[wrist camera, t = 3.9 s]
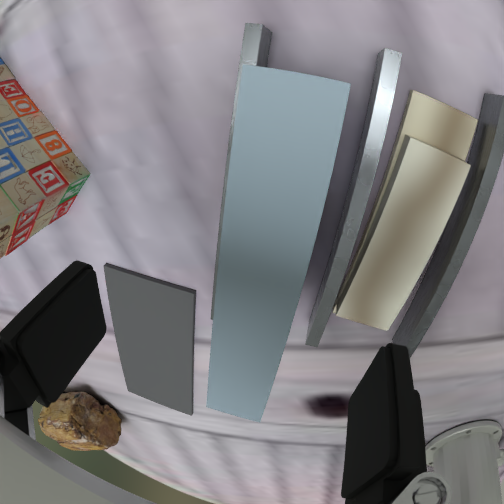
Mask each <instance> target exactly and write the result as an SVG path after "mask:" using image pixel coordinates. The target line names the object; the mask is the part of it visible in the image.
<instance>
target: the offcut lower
mask: <svg viewBox="0 0 504 504" xmlns="http://www.w3.org/2000/svg"><path fill="white" fill-rule="evenodd" d="M477 122H478V120H477V119H475V118H473V117H471V116H469V115H467V114H465V113H463V112H461V111H459V110H457V109H455V108H453V107H451V106H449V105H447V104H444V103H442V102H440V101H438V100H435V99H433V98H431V97H429V96H426V95H424V94H421V93H419V92H416V91H414V90H410V93H409V96H408V100H407V104H406V107H405V111H404V114H403V118H402V121H401V125H400V128H399V131H398V135H397V138H396V141H395V144H394V147H393V151H392V154H391V157H390V160H389V163H388V166H387V169H386V172H385V175H384V178H383V181H382V184H381V187H380V189H379V192H378V195H377V198H376V201H375V203H374V206H373V209H372V212H371V214H370V217H369V220H368V222H367V225H366V228H365V230H364V233H363V235H362V238H361V240H360V243H359V245H358V248H357V250H356V253H355V255H354V258H353V260H352V263H351V265H350V268H349V270H348V272H347V275H346V277H345V279H344V282H343V284H342V286H341V289H340V291H339V293H338V296H337V298H336V300H335V302H334V305H333V313H336V305H337V301H338V299H339V297H340V295H341V293H342V291H343V289H344V286H345V284H346V282H347V280H348V278H349V276H350V273H351V271H352V269H353V267H354V265H355V262H356V260H357V258H358V255H359V253H360V251H361V249H362V246H363V244H364V242H365V239H366V237H367V234H368V232H369V230H370V227H371V225H372V222H373V220H374V217H375V215H376V213H377V210H378V208H379V205H380V202H381V200H382V197H383V195H384V192H385V189H386V187H387V184H388V182H389V179H390V176H391V173H392V171H393V168H394V165H395V162H396V160H397V157H398V154H399V151H400V148H401V145H402V142H403V139H404V136H405V134H406V135H409V136H411V137H414V138H416V139H418V140H421V141H423V142H425V143H428V144H430V145H432V146H434V147H437V148H439V149H441V150H443V151H445V152H447V153H449V154H452V155H454V156H456V157H458V158H460V159H462V160H463V161H465V159H466V157H467V154H468V151H469V148H470V145H471V142H472V138H473V135H474V132H475V129H476V125H477Z"/></svg>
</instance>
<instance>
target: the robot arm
mask: <svg viewBox="0 0 504 504" xmlns="http://www.w3.org/2000/svg"><path fill="white" fill-rule="evenodd" d="M105 333H106V323H105V318H104V314H103V309H102V304H101V299H100V294H99V288H98V283H97V277H96V272H95V271H94V270H93V267H92V266H91V265H89V264H87V263H84V262H81V261H74V262H73V263H72V264H71V265H69V266H68V267H67V268H66V269H65V270H64V271H63V272H62V273H60V274H59V275H58V276H57V277H56V278H55V279H54V280H53V281H52V282H51V283H50V284H49V285H47V286H46V287H45V288H44V289H43V290H42V291H41V292H40V293H39V294H38V295H37V296H36V297H35V298H34V299H33V300H32V301H31V302H30V303H29V304H28V305H27V306H26V307H24V308H23V309H22V310H21V311H20V312H19V313H18V314H17V315H16V316H15V317H14V318H13V320H12V321H11V322H10V323H9V324H8V325H7V326H6V327H5V328H4V329H3V330H2V331H1V332H0V504H156V503H154V502H151V501H149V500H146V499H143V498H141V497H139V496H137V495H134V494H132V493H129V492H127V491H125V490H123V489H120V488H118V487H116V486H114V485H112V484H110V483H108V482H106V481H104V480H102V479H100V478H98V477H96V476H94V475H92V474H90V473H88V472H87V471H85V470H83V469H81V468H79V467H78V466H76V465H74V464H72V463H71V462H69V461H67V460H65V459H64V458H62V457H60V456H59V455H57V454H56V453H54V452H52V451H51V450H49V449H48V448H46V447H44V446H43V445H41V444H40V443H38V442H37V441H36V439H35V432H34V421H33V410H32V404H33V403H34V401H35V400H36V401H37V402H38V403H40V404H42V405H43V406H45V407H46V408H48V407H49V406H50V404H51V403H54V402H56V401H57V400H58V398H59V397H60V395H61V394H62V393H63V391H64V390H65V388H66V387H67V386H68V384H69V383H70V381H71V380H72V379H73V377H74V376H75V374H76V373H77V372H78V370H79V369H80V368H81V366H82V365H83V364H84V362H85V361H86V359H87V358H88V357H89V355H90V354H91V353H92V351H93V350H94V349H95V347H96V346H97V345H98V344H99V342H100V341H101V340H102V338H103V337H104V335H105ZM501 437H502V429H501V426H500V424H499V423H497V422H494V421H476V422H472V423H468V424H464V425H461V426H458V427H456V428H453V429H451V430H449V431H446V432H444V433H443V434H441V435H439V436H437V437H436V438H434V439H433V440H432V441H431V442H429V443H428V444H427V445H426V447H425V438H424V427H423V417H422V408H421V400H420V395H419V393H418V391H417V390H414V386H413V379H412V372H411V365H410V358H409V352H408V348H407V347H406V346H403V345H398V344H393V343H389V344H387V346H386V347H381V348H380V349H379V351H378V353H377V355H376V356H375V358H374V360H373V361H372V363H371V365H370V367H369V368H368V370H367V371H366V373H365V375H364V376H363V378H362V380H361V381H360V383H359V384H358V386H357V388H356V389H355V391H354V392H353V394H352V396H351V398H350V400H349V405H348V422H347V437H346V450H345V462H344V472H343V481H342V490H341V496H342V498H346V500H345V504H502V496H501V486H500V478H499V471H498V466H502V465H503V464H504V449H501V450H500V449H499V444H498V442H499V440H500V439H501ZM426 464H427V465H429V466H432V467H433V472H427V467H426Z"/></svg>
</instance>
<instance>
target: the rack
mask: <svg viewBox="0 0 504 504" xmlns="http://www.w3.org/2000/svg"><path fill="white" fill-rule="evenodd" d="M271 36H272V32H271V31H270V30H269V29H267V28H266V27H265V26H264V25H263V24H253V23H246V24H245V30H244V37H243V43H242V50H241V56H240V63H239V70H238V77H237V84H236V91H235V98H234V106H233V113H232V121H231V129H230V136H229V144H228V153H227V161H226V169H225V178H224V187H223V196H222V205H221V214H220V223H219V233H218V243H217V253H216V264H215V275H214V286H213V297H212V309H211V319H212V320H213V315H214V304H215V293H216V283H217V272H218V262H219V252H220V243H221V233H222V224H223V215H224V206H225V197H226V189H227V180H228V172H229V164H230V155H231V147H232V140H233V132H234V124H235V117H236V109H237V102H238V95H239V88H240V81H241V74H242V67H243V65H251V66H259V67H267V61H268V55H269V49H270V42H271ZM401 56H402V53H400V52H397V51H393V50H390V49H387V48H385V49H383V50H382V51H381V52H379V53H378V58H377V64H376V69H375V74H374V80H373V85H372V90H371V95H370V100H369V105H368V110H367V114H366V119H365V123H364V128H363V132H362V137H361V141H360V146H359V150H358V154H357V158H356V162H355V166H354V170H353V174H352V178H351V182H350V186H349V190H348V194H347V198H346V201H345V205H344V209H343V212H342V216H341V220H340V223H339V227H338V230H337V234H336V237H335V241H334V244H333V248H332V251H331V254H330V258H329V261H328V264H327V268H326V271H325V274H324V277H323V280H322V284H321V287H320V290H319V293H318V296H317V299H316V302H315V305H314V308H313V311H312V314H311V317H310V320H309V326H308V332H307V338H306V344H305V345H310V346H314V347H318V344H319V342H320V339H321V337H322V334H323V331H324V329H325V326H326V324H327V321H328V318H329V316H330V313H331V311H332V308H333V305H334V302H335V300H336V297H337V294H338V291H339V289H340V286H341V283H342V280H343V277H344V274H345V271H346V269H347V266H348V263H349V260H350V257H351V254H352V251H353V248H354V244H355V241H356V238H357V235H358V232H359V229H360V225H361V222H362V219H363V216H364V212H365V209H366V205H367V202H368V199H369V195H370V192H371V188H372V184H373V181H374V177H375V173H376V170H377V166H378V162H379V158H380V154H381V150H382V146H383V142H384V138H385V134H386V130H387V125H388V121H389V117H390V112H391V108H392V103H393V98H394V93H395V88H396V83H397V78H398V73H399V67H400V62H401ZM503 153H504V96H502V95H495V94H487V93H485V94H484V99H483V104H482V108H481V113H480V117H479V121H478V126H477V130H476V134H475V138H474V141H473V145H472V149H471V152H470V156H469V159H468V164H469V165H471V167H470V169H469V172H468V174H467V177H466V179H465V182H464V184H463V187H462V189H461V192H460V194H459V196H458V199H457V201H456V203H455V206H454V208H453V210H452V213H451V215H450V217H449V219H448V222H447V224H446V227H445V230H444V232H443V235H442V237H441V240H440V242H439V244H438V247H437V249H436V252H435V254H434V256H433V259H432V261H431V263H430V265H429V268H428V270H427V272H426V274H425V277H424V279H423V281H422V283H421V285H420V287H419V289H418V291H417V293H416V296H415V298H414V300H413V302H412V304H411V306H410V308H409V310H408V311H407V313H406V315H405V317H404V319H403V321H402V323H401V325H400V327H399V329H398V330H397V332H396V334H395V336H394V338H393V339H392V340H393V344H398V345H403V346H406V347H407V348H408V352H409V358H410V357H411V356H412V354H413V353H414V351H415V349H416V348H417V346H418V345H419V343H420V341H421V340H422V338H423V336H424V335H425V333H426V331H427V330H428V328H429V326H430V325H431V323H432V321H433V319H434V318H435V316H436V314H437V312H438V310H439V309H440V307H441V305H442V303H443V301H444V299H445V297H446V296H447V294H448V292H449V290H450V288H451V286H452V284H453V282H454V280H455V278H456V276H457V274H458V272H459V270H460V267H461V265H462V263H463V261H464V259H465V257H466V254H467V252H468V250H469V248H470V245H471V243H472V241H473V238H474V236H475V234H476V231H477V229H478V226H479V224H480V221H481V219H482V216H483V214H484V211H485V208H486V206H487V203H488V200H489V197H490V195H491V192H492V189H493V186H494V183H495V180H496V177H497V173H498V170H499V167H500V164H501V160H502V157H503Z"/></svg>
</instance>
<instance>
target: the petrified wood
mask: <svg viewBox="0 0 504 504" xmlns="http://www.w3.org/2000/svg"><path fill="white" fill-rule="evenodd" d="M38 422H39V425H40V427H41V430H42V431H43V432H44V433H45V435H47V436H49V437H51V439H55V440H57V442H58V443H59V444H60V446H63V447H66V448H69V449H71V450H81V451H89V450H104V449H108V448H109V447H111V446H114V445H116V444H117V443H118V440H119V436H120V435H121V419H120V418H119V417H118V415H117V413H116V411H115V410H114V409H112V408H110V407H109V405H100V404H99V401H97V400H96V399H95V398H93V397H92V396H91V395H88V394H87V393H86V392H74V391H72V392H68V393H64V394H61V395H60V397H59V398H58V400H57V401H56V402H54V403H51V404H50V406H49V407H48V408H46V407H45V406H43V408H42V411H41V413H40V418H39V419H38Z"/></svg>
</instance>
